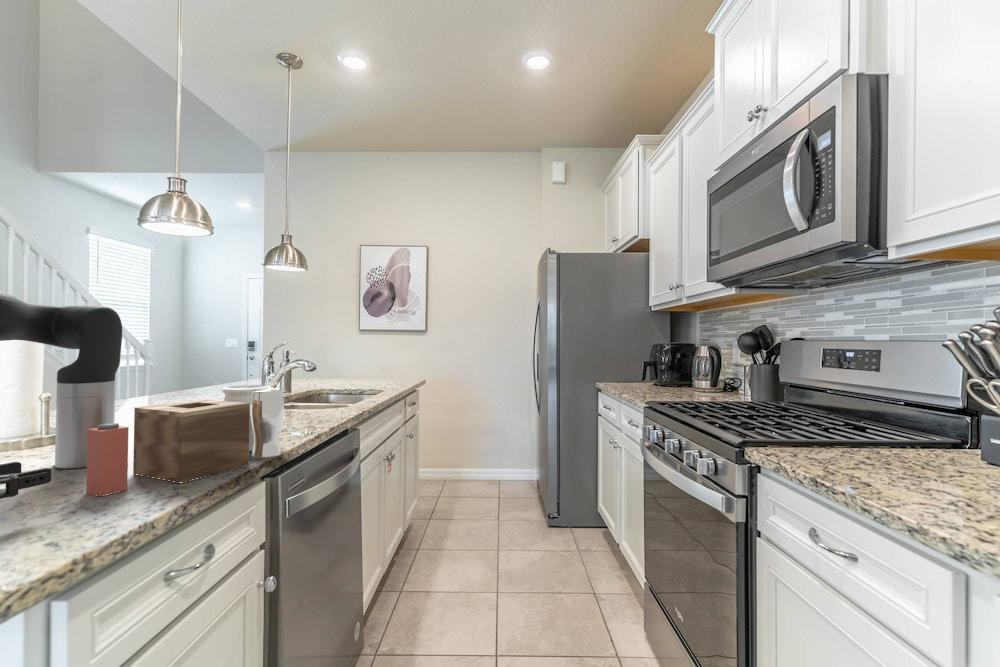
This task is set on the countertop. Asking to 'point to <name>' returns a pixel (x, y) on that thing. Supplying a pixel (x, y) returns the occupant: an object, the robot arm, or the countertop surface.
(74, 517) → the countertop surface
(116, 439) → the spice tin
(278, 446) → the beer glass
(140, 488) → the countertop surface
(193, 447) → the slot box
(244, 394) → the jar
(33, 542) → the countertop surface
